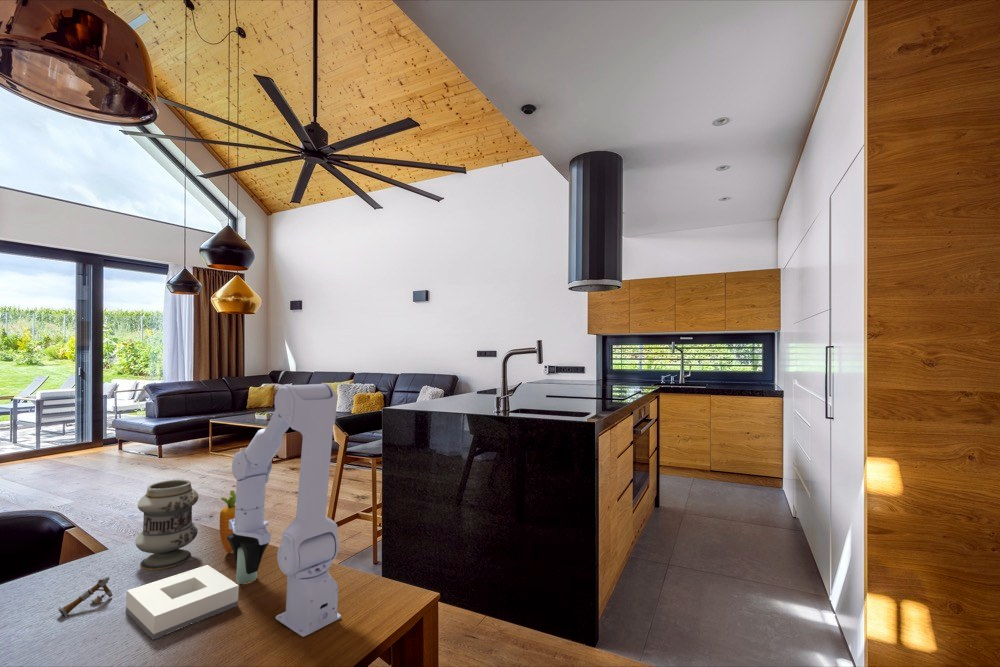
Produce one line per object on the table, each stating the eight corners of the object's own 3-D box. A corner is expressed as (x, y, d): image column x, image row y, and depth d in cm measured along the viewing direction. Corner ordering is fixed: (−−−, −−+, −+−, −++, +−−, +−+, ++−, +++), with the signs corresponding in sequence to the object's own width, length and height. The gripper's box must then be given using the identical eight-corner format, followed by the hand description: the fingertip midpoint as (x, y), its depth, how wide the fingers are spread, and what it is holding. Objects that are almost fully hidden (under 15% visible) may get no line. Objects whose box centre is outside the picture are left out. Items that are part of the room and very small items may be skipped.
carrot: (233, 558, 113) (236, 495, 113) (212, 557, 113) (216, 494, 113) (244, 549, 118) (247, 489, 118) (225, 548, 118) (228, 488, 118)
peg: (260, 579, 102) (261, 547, 103) (241, 587, 99) (243, 553, 99) (251, 574, 105) (252, 542, 105) (232, 581, 101) (234, 548, 102)
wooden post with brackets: (119, 592, 94) (109, 575, 93) (72, 627, 87) (61, 609, 86) (114, 590, 95) (105, 573, 93) (67, 625, 88) (56, 607, 87)
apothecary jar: (151, 551, 115) (156, 477, 116) (205, 548, 117) (209, 476, 118) (121, 574, 103) (126, 491, 104) (181, 570, 105) (186, 490, 106)
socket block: (237, 605, 92) (238, 585, 92) (153, 640, 80) (154, 616, 81) (206, 583, 100) (207, 564, 100) (125, 612, 89) (126, 590, 89)
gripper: (285, 508, 102) (282, 572, 101) (252, 495, 110) (249, 554, 110) (252, 517, 96) (249, 584, 95) (220, 502, 104) (216, 564, 104)
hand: (247, 569), depth 102 cm, fingers closed on peg, 4 cm apart
